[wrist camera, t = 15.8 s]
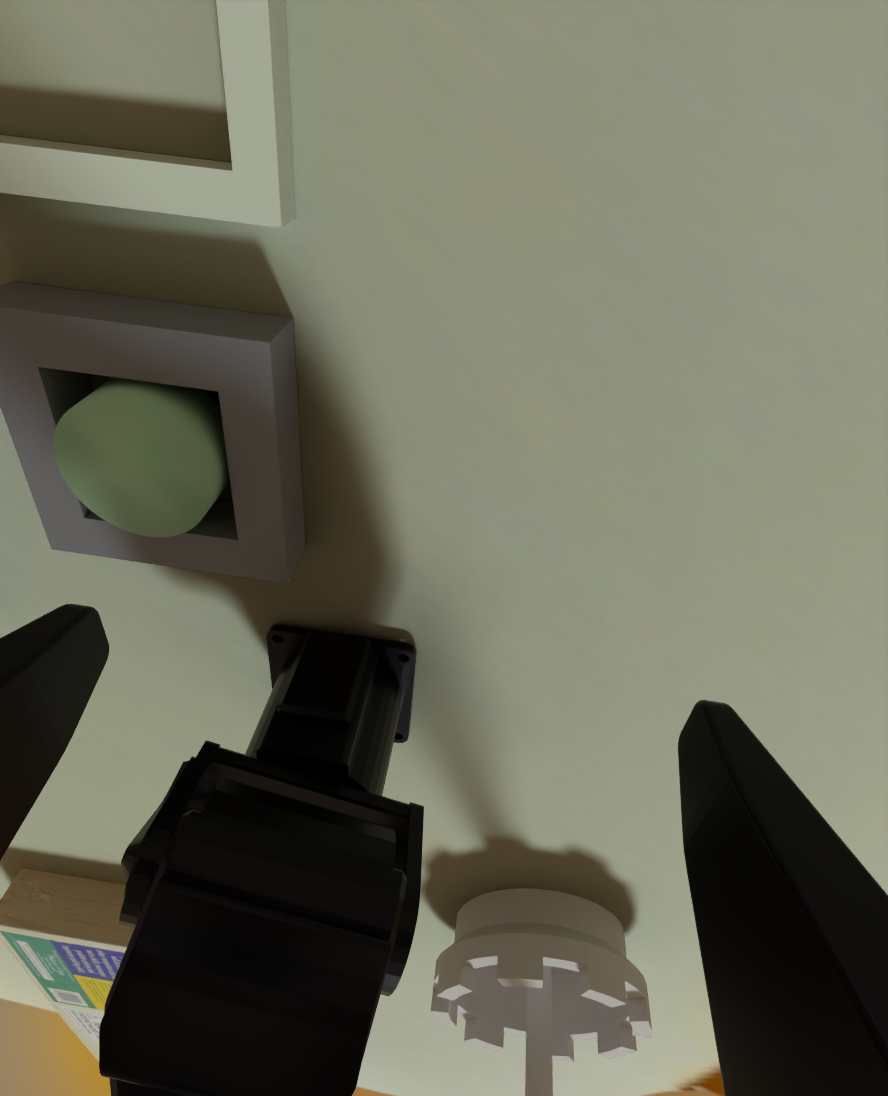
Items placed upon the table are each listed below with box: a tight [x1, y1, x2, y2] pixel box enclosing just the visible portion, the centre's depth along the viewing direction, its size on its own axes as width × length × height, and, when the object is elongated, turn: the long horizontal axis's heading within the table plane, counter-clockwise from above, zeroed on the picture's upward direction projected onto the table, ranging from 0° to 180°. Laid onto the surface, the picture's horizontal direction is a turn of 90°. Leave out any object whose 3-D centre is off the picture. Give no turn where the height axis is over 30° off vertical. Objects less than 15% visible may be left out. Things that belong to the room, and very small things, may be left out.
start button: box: [53, 377, 230, 537], centre depth 21 cm, size 5×5×2 cm
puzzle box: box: [0, 868, 135, 1061], centre depth 55 cm, size 36×5×24 cm
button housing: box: [0, 282, 306, 584], centre depth 22 cm, size 9×9×2 cm
